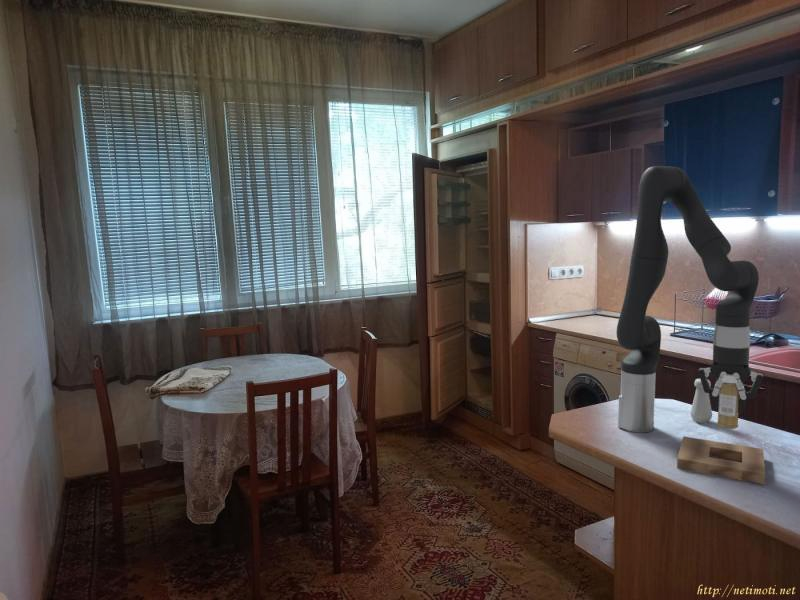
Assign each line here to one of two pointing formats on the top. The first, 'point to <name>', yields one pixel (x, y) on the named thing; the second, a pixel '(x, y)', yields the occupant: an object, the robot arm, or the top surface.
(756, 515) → the top surface
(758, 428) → the top surface
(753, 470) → the holder board
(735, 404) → the sprinkles bottle
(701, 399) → the salt shaker
